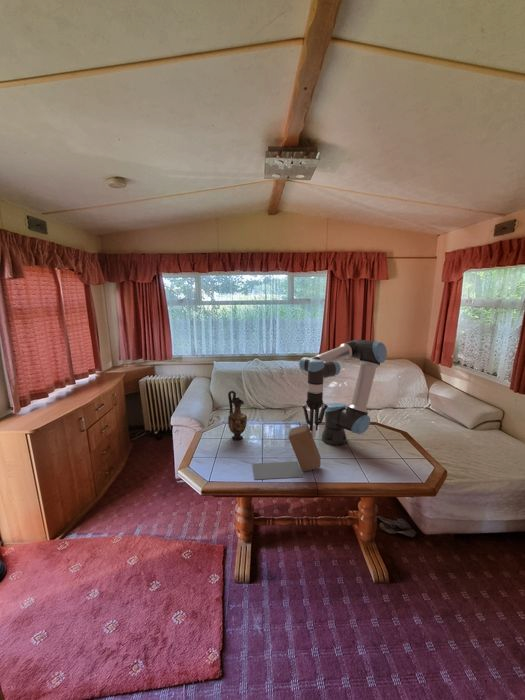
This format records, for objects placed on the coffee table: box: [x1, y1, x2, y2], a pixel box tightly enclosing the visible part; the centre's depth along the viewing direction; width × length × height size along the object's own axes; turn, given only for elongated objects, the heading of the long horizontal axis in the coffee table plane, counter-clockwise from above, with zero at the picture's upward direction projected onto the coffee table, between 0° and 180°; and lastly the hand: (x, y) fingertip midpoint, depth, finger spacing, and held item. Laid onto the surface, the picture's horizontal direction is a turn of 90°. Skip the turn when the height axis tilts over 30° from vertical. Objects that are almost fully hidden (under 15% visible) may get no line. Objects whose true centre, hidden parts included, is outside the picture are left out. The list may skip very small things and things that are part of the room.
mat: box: [251, 460, 304, 481], centre depth 147 cm, size 24×14×1 cm, turn 96°
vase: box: [227, 390, 248, 442], centre depth 180 cm, size 12×12×30 cm
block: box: [288, 423, 321, 472], centre depth 148 cm, size 10×10×20 cm
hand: (313, 436), depth 146 cm, fingers closed
